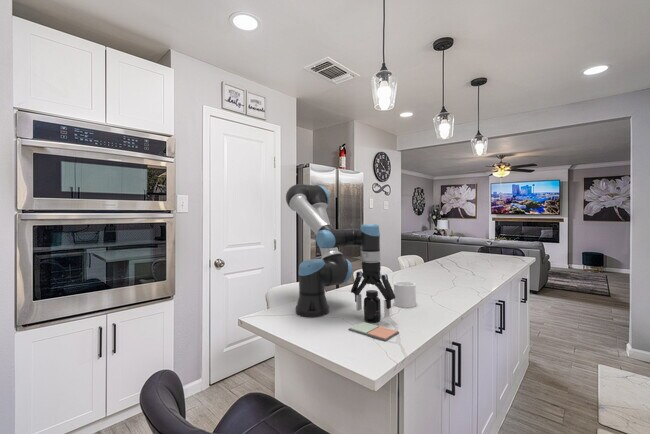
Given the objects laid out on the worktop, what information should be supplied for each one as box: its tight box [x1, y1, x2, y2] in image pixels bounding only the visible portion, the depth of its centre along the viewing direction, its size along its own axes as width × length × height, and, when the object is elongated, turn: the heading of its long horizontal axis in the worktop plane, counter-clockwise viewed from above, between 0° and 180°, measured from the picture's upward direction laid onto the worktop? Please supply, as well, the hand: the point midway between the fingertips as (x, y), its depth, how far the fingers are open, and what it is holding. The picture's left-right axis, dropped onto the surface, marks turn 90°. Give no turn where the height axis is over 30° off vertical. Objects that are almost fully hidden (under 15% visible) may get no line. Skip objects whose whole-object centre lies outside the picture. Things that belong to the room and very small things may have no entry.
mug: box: [393, 281, 417, 309], centre depth 142 cm, size 13×10×10 cm
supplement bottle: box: [363, 289, 382, 324], centre depth 120 cm, size 7×7×12 cm
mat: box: [347, 321, 400, 342], centre depth 108 cm, size 16×10×1 cm, turn 47°
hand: (372, 313), depth 120 cm, fingers open, 13 cm apart
